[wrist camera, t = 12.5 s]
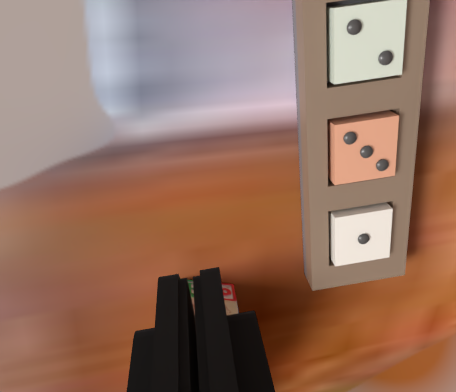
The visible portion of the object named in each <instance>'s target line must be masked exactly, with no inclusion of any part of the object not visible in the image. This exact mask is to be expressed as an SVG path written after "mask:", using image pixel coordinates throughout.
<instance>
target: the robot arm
mask: <svg viewBox="0 0 456 392" xmlns="http://www.w3.org/2000/svg"><path fill="white" fill-rule="evenodd" d="M193 290H194V307H195V314H194V309H193V304H192V299H191V294H190V289H189V284H188V280H187V278H184V279H180V277H179V274H175V275H169V276H163V277H159V278H158V289H157V304H156V319H155V328H151V329H145V330H139V331H136V332H135V334H134V339H133V347H132V354H131V362H130V370H129V378H128V386H127V392H275V390H274V386H273V382H272V378H271V374H270V370H269V366H268V362H267V358H266V354H265V350H264V346H263V342H262V338H261V334H260V330H259V326H258V322H257V318H256V314H255V311H249V312H243V313H237V314H232V315H227V314H226V308H225V302H224V295H223V289H222V283H221V276H220V270H219V267H217V268H211V269H205V270H200V276H196V277H193Z"/></svg>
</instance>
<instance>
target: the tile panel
mask: <svg viewBox="0 0 456 392" xmlns="http://www.w3.org/2000/svg"><path fill="white" fill-rule="evenodd" d="M368 1H375V0H292V9H293V31H294V53H295V76H296V98H297V120H298V143H299V165H300V187H301V210H302V232H303V254H304V274H305V276H306V278H307V280H308V282H309V285H310V287H311V289H312V291H314V290H320V289H326V288H332V287H338V286H343V285H349V284H355V283H361V282H367V281H373V280H378V279H384V278H390V277H396V276H402V275H405V267H406V256H407V245H408V234H409V223H410V212H411V201H412V190H413V179H414V168H415V157H416V146H417V136H418V125H419V114H420V103H421V92H422V81H423V70H424V59H425V48H426V37H427V26H428V15H429V4H430V0H407V9H406V23H405V38H404V52H403V67H402V75H395V76H388V77H382V78H375V79H368V80H361V81H354V82H348V83H341V84H333V83H331V82H329V81H327V54H326V7H331V6H338V5H346V4H353V3H360V2H368ZM385 110H390V111H392V112H393V113H395V114H397V115H399V125H398V139H397V154H396V168H395V176H390V177H384V178H378V179H371V180H365V181H359V182H352V183H346V184H340V185H334V184H333V183H332V181H331V180H330V179H329V178H328V142H327V119H332V118H338V117H345V116H352V115H358V114H365V113H372V112H378V111H385ZM384 202H387V203H388V204H389V205H390V206H391V207H392V208H393V213H392V227H391V242H390V256H389V257H388V258H382V259H376V260H371V261H365V262H359V263H353V264H347V265H341V266H335V265H334V264H333V262H332V260H331V259H330V257H329V230H328V211H334V210H340V209H347V208H353V207H359V206H365V205H371V204H377V203H384Z"/></svg>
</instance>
